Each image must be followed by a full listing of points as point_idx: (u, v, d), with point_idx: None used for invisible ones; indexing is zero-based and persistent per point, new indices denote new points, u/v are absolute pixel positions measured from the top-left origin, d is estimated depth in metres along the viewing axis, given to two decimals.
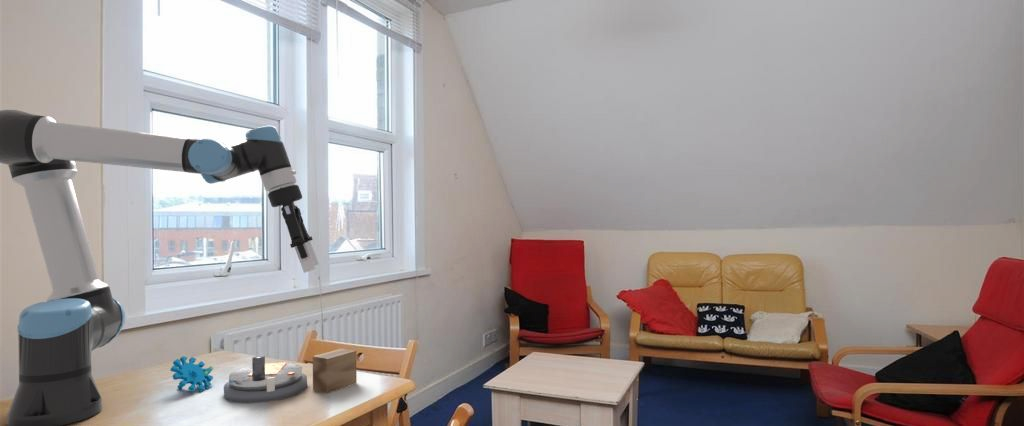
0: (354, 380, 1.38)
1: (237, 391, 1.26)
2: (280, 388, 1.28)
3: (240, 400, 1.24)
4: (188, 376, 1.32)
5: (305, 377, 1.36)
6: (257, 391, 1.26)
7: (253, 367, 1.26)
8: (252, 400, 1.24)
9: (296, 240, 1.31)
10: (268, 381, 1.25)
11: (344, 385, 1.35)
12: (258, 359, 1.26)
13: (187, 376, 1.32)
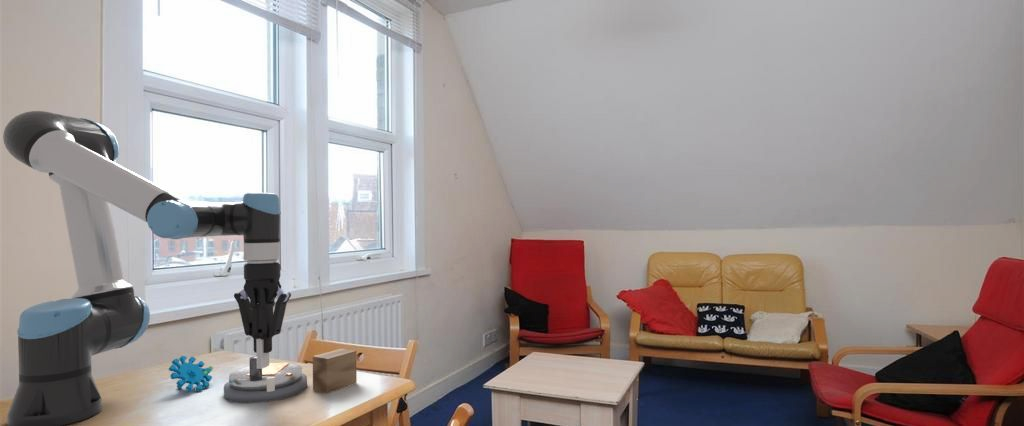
0: (354, 380, 1.38)
1: (237, 391, 1.26)
2: (280, 388, 1.28)
3: (240, 400, 1.24)
4: (186, 376, 1.32)
5: (305, 377, 1.36)
6: (257, 391, 1.26)
7: (250, 367, 1.26)
8: (252, 400, 1.24)
9: (276, 333, 1.25)
10: (268, 381, 1.25)
11: (344, 385, 1.35)
12: (255, 359, 1.26)
13: (185, 376, 1.32)
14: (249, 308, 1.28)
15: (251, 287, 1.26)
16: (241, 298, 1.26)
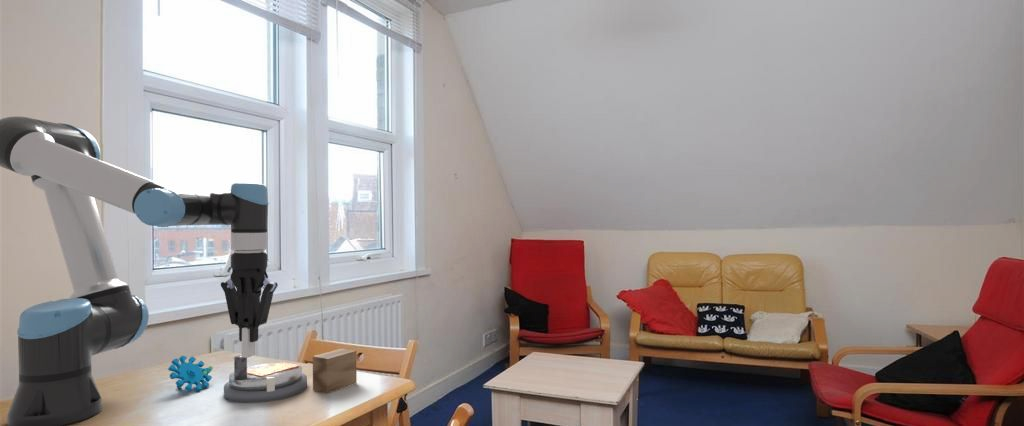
0: (354, 380, 1.38)
1: (237, 391, 1.26)
2: (280, 388, 1.28)
3: (240, 400, 1.24)
4: (185, 376, 1.32)
5: (305, 377, 1.36)
6: (257, 391, 1.26)
7: None
8: (252, 400, 1.24)
9: (262, 323, 1.26)
10: (268, 381, 1.25)
11: (344, 385, 1.35)
12: (236, 358, 1.27)
13: (184, 376, 1.32)
14: (235, 297, 1.28)
15: (238, 276, 1.26)
16: (228, 287, 1.27)
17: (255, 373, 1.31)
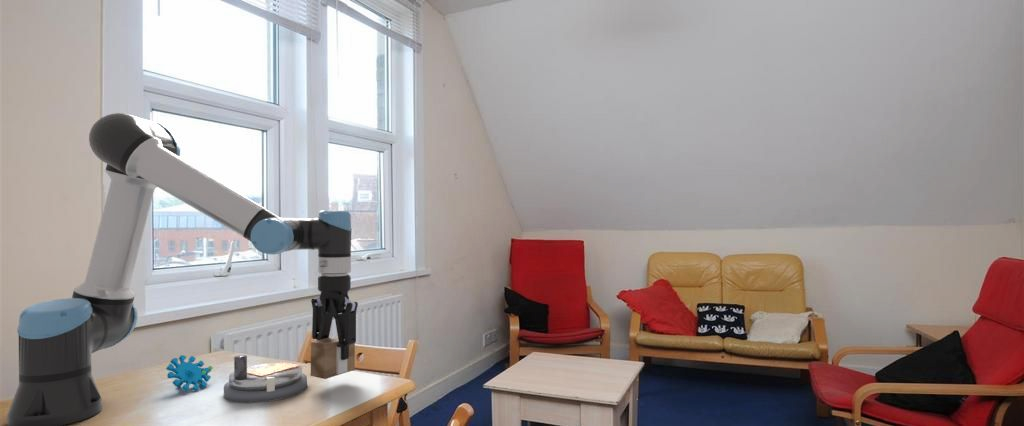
0: (352, 367, 1.38)
1: (237, 391, 1.26)
2: (280, 388, 1.28)
3: (240, 400, 1.24)
4: (183, 375, 1.33)
5: (305, 377, 1.36)
6: (257, 391, 1.26)
7: None
8: (252, 400, 1.24)
9: None
10: (268, 381, 1.25)
11: None
12: (236, 358, 1.27)
13: (182, 375, 1.32)
14: None
15: None
16: None
17: (255, 373, 1.31)
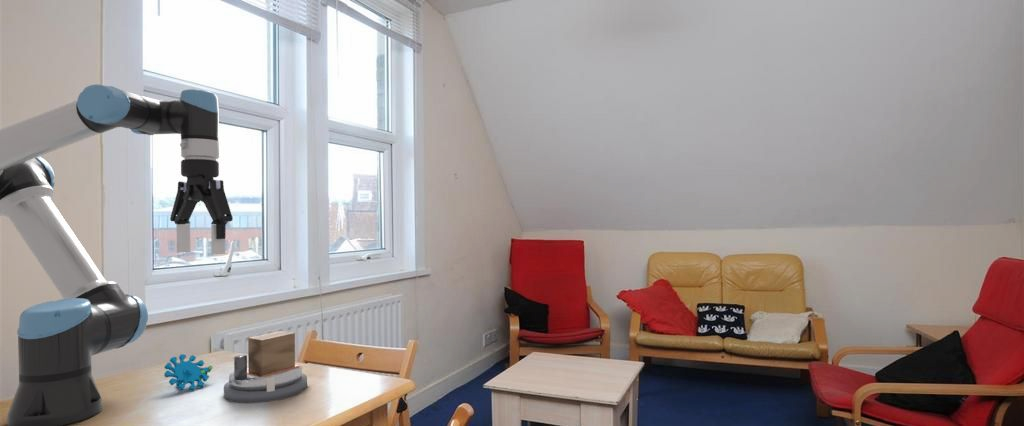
0: (292, 362, 1.36)
1: (237, 391, 1.26)
2: (280, 388, 1.28)
3: (240, 400, 1.24)
4: (180, 374, 1.33)
5: (305, 377, 1.36)
6: (257, 391, 1.26)
7: None
8: (252, 400, 1.24)
9: None
10: (268, 381, 1.25)
11: (281, 367, 1.34)
12: (236, 358, 1.27)
13: (179, 374, 1.33)
14: None
15: None
16: None
17: None
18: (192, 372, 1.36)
